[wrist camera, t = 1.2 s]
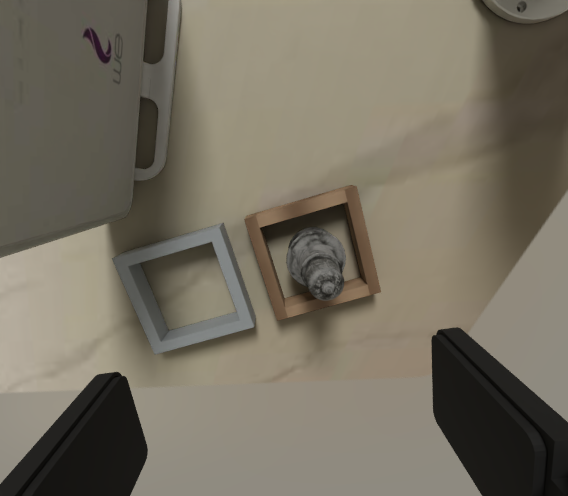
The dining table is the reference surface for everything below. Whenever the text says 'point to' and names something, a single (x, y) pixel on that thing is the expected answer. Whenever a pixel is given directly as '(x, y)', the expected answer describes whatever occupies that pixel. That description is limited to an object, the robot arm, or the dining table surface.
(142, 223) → the dining table surface
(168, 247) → the slate-grey collar
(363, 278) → the walnut collar
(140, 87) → the network device
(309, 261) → the marbled chess piece
